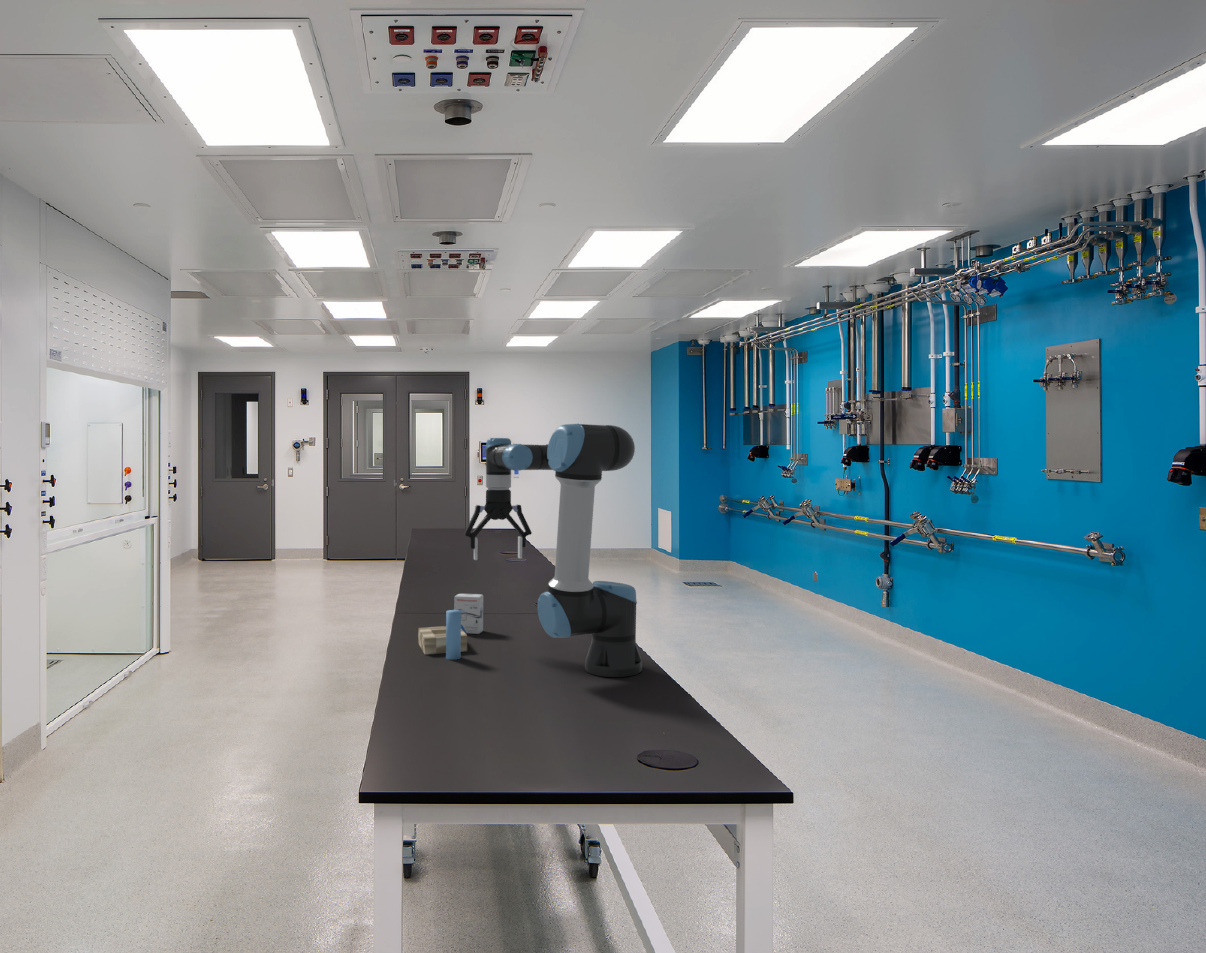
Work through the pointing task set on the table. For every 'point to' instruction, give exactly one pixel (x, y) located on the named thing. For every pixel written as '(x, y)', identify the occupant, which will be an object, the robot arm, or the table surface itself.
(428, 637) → the socket block
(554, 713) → the table surface
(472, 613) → the ink box
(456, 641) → the peg
